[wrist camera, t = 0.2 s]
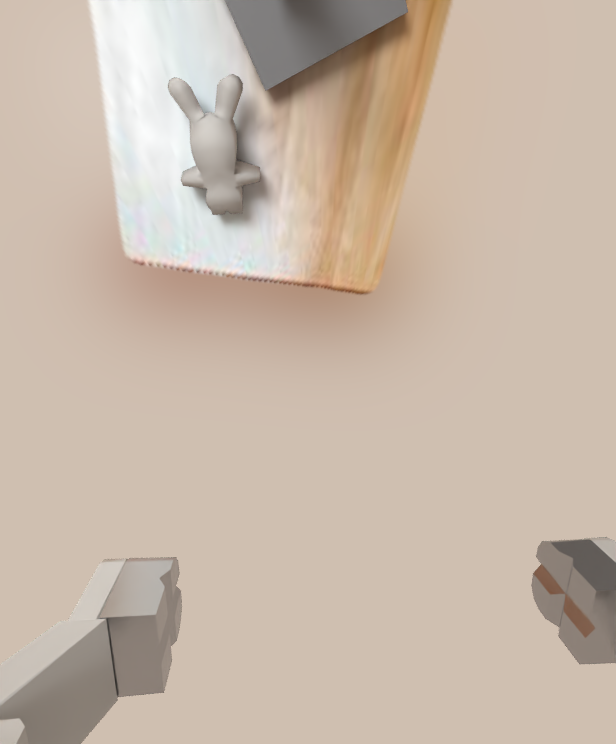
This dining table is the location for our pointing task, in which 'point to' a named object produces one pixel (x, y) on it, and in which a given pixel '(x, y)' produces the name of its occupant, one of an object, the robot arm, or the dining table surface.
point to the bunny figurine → (215, 146)
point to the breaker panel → (304, 30)
